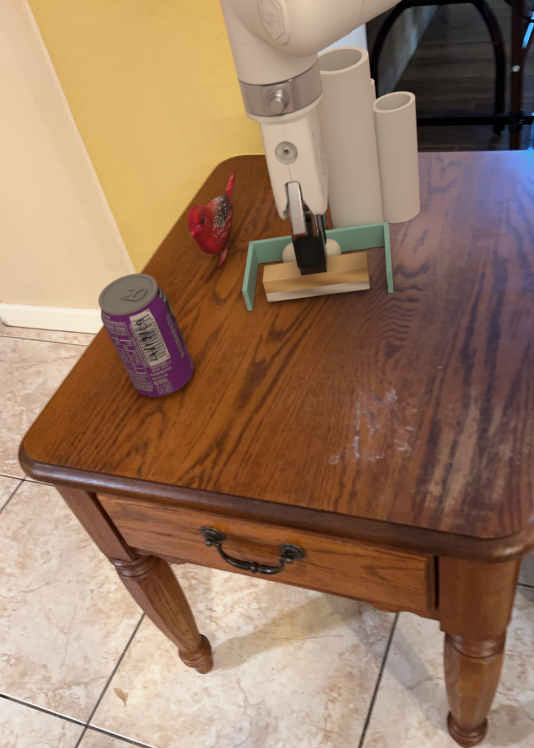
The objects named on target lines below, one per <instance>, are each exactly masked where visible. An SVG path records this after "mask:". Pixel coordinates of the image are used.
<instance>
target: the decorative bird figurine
mask: <svg viewBox="0 0 534 748" xmlns="http://www.w3.org/2000/svg"><path fill="white" fill-rule="evenodd" d="M235 179H236V169H233V170H232V172H231V175H230V177H229V180H228V182H227V185H226V188H225V191H224V192H223V194H220V195H218V196H216V197H215V198H213V199H212V200H210V201H209V203H207V204H206V205H204V204H196V205H194V206H192V207H191V208H190V209H188V210H189V211H188V213H187V226H188V230H189V232H190V235H191V238H192V239H193V240H195V242H196V244H197V246H198V248H199V249H200V250H201V251H202V252H203V253H205V254H207V255H211V256H212V255H217V254H220V253H221V255H220V257H219V264H218V266H217V270H219V269H220V267H221V266H222V264H224V263H225V261H226V257H227V255H228V251H229V249H228V247H230V244H229V242H230V239H231V235H232V231H233V220H234V205H233V192H234V186H235Z"/></svg>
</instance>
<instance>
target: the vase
mask: <svg viewBox="0 0 534 748" xmlns="http://www.w3.org/2000/svg"><path fill="white" fill-rule="evenodd" d="M317 54H318V60H319V67H320V74H321V80H322V88H323V98H322V101H321V102H320V103H319V104H318V105H317V106H316V108H317V113H318V118H319V123H320V129H321V135H322V140H323V146H324V151H325V156H326V161H327V167H328V205H329V209H330V210H329V211H330V217H331V218H330V219H331V223H332V229H338V228H345V227H352V226H359V225H365V224H372V223H379V222H386V221H389V224H402V223H406V222H408V221H412V220H413V219H414V218H416V217H417V216H418V215H419V214H420V212H421V198H420V197H421V196H420V176H419V175H420V173H419V153H418V131H417V112H416V111H417V109H416V96H415V94H414V93H413V92H409V91H395V92H391V93H387V94H383V95H382V96H380V97H378V98H377V95H376V85H375V80H374V78H371V69H370V68H371V67H370V58H369V57H370V56H369V51H368V50H367V49H366V48H364V47H361V46H357V45H344V46H337V47H333V48H329V49H326V50H323V51H321V52H319V53H317Z"/></svg>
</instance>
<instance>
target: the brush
mask: <svg viewBox="0 0 534 748" xmlns="http://www.w3.org/2000/svg"><path fill="white" fill-rule="evenodd" d="M305 206H307V205H303V207H305ZM316 219H317V225H318V231H321V233H322V238H323V244H324V250H325V256H326V264H325V265H324V266H318V267H311V268H303V269H300V268H298V266H297V262H288V263H284V262H282V263H275V264H267V265H263V266H264V267H263V275H262V284H263V288H264V293H265V295H266V300H267V302H268V303H272V302H279V301H286V300H295V299H302V298H311V297H316V296H318V297H319V296H325V295H331V294H332V295H334V294H340V293H348V292H354V291H355V292H357V291H363V290H370V289H371V281H370V280H371V279H370V267H369V258H368V257H369V256H368V251H359V252H353V253H346V254H345V253H344V254H341V255H338V256H331V257H328V256H327V250H326V244H325V239H324V233H323V227H322V221H321V215H320V214H317V215H316ZM305 221H306V222H307V221H309V222H310V223H311V220H310V216H307V217H305Z"/></svg>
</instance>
